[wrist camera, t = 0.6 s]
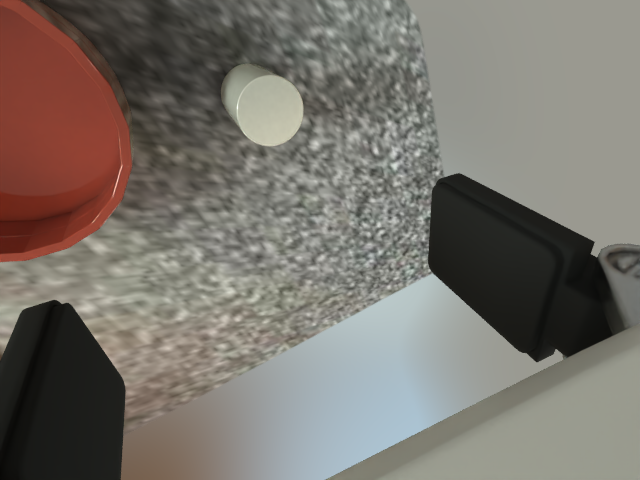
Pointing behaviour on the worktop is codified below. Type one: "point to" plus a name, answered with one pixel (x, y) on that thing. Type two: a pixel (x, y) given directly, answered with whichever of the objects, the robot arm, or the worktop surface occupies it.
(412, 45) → the worktop surface
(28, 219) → the pan
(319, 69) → the worktop surface
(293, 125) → the pale grey cylinder
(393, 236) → the worktop surface
